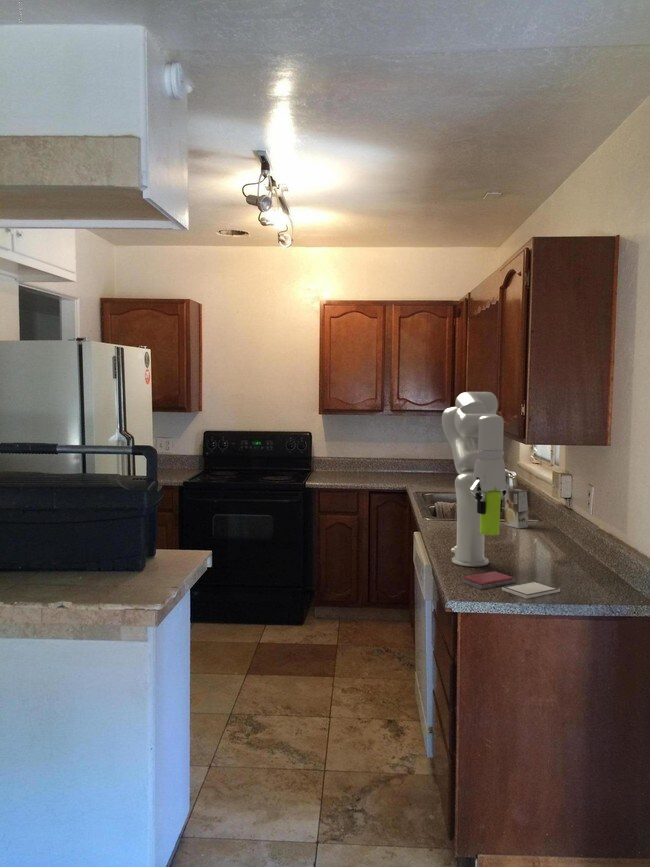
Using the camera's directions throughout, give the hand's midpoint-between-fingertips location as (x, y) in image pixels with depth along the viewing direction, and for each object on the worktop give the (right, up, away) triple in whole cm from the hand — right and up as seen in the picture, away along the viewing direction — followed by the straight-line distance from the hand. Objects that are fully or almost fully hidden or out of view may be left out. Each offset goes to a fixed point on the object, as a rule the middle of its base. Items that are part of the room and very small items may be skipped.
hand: (489, 512), depth 219 cm
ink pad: (0, -22, +2) cm, 22 cm away
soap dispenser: (0, -7, +1) cm, 7 cm away
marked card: (+11, -23, -7) cm, 26 cm away
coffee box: (+33, -17, +91) cm, 98 cm away
